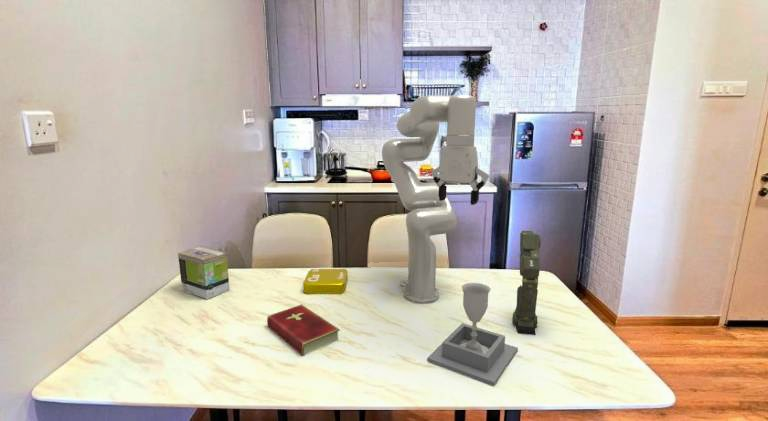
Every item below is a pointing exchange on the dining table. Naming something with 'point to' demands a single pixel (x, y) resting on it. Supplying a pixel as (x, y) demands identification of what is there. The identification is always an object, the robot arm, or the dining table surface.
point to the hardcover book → (303, 329)
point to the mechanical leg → (527, 284)
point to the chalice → (475, 308)
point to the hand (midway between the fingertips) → (457, 201)
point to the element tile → (325, 281)
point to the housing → (474, 354)
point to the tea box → (204, 272)
